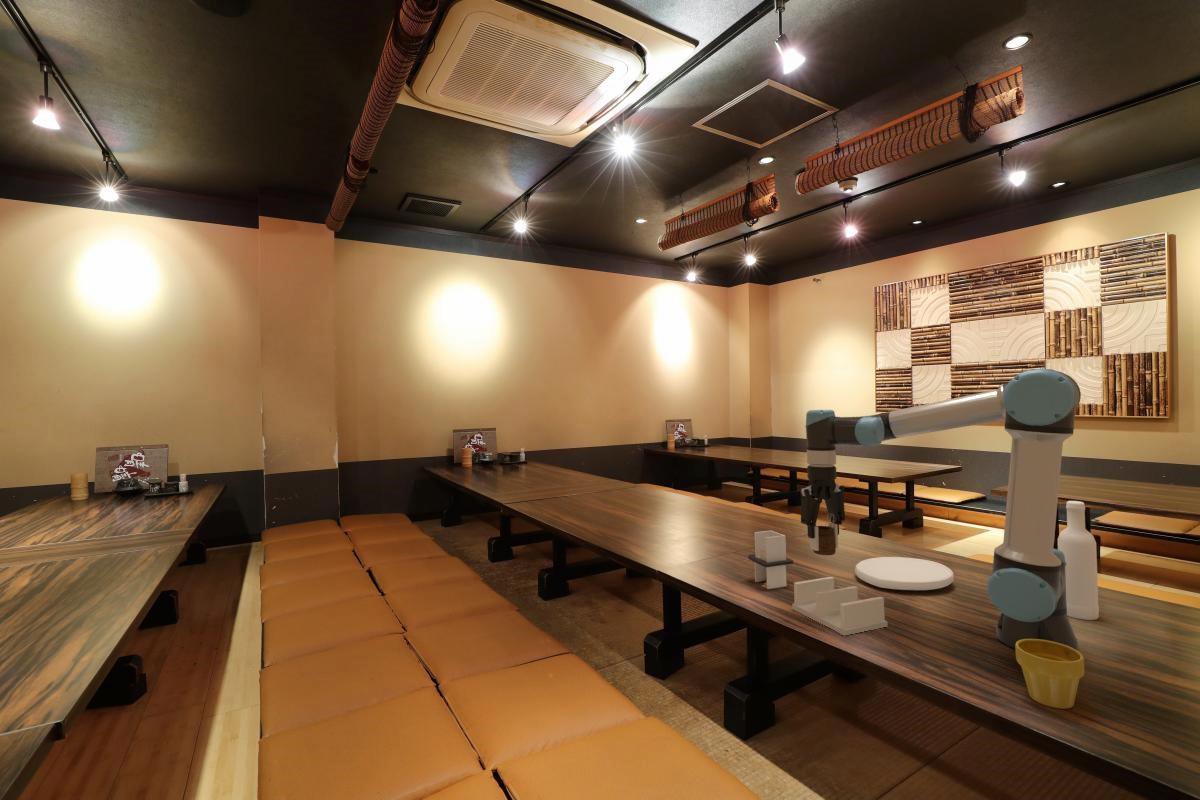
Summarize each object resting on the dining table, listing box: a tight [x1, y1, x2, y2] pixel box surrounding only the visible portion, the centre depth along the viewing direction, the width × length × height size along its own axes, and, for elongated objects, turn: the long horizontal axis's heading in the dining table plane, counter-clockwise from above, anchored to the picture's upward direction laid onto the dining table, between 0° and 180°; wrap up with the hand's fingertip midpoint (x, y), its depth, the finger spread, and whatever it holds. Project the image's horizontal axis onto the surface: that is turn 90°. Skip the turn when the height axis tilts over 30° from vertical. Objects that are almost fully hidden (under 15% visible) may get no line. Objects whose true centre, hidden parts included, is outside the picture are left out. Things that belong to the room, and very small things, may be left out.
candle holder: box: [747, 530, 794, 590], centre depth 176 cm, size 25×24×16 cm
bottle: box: [1057, 500, 1100, 621], centre depth 145 cm, size 8×8×30 cm
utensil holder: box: [812, 515, 837, 556], centre depth 152 cm, size 6×6×12 cm
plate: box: [854, 556, 955, 591], centre depth 175 cm, size 28×6×27 cm
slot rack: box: [791, 576, 889, 637], centre depth 147 cm, size 20×14×8 cm
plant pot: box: [1014, 639, 1085, 710], centre depth 106 cm, size 10×10×10 cm
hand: (823, 548), depth 152 cm, fingers closed on utensil holder, 6 cm apart
